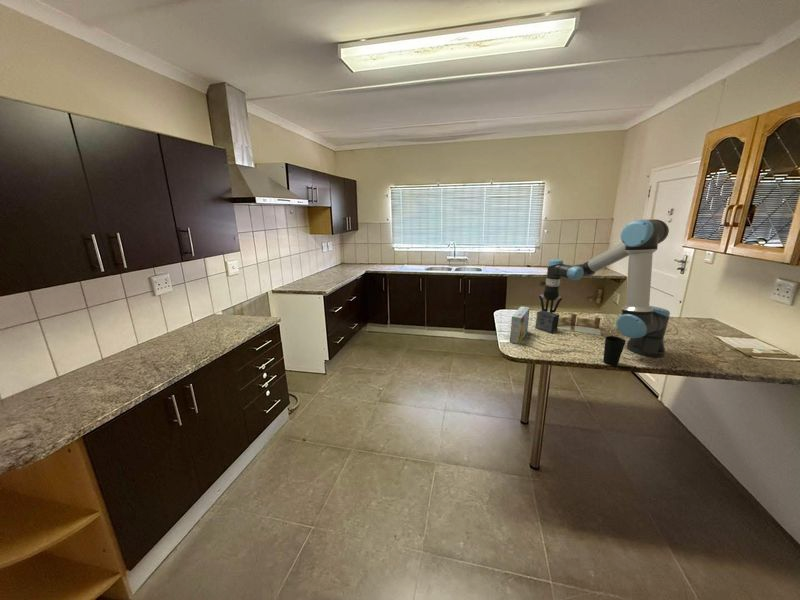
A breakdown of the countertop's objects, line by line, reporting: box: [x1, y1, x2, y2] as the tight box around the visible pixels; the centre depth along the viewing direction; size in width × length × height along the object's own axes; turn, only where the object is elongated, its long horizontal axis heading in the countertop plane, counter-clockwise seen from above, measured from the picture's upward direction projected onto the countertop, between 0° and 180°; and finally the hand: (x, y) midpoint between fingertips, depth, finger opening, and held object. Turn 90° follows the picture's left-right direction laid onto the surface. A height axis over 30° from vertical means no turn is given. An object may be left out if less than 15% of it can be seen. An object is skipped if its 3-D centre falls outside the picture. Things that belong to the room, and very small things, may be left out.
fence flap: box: [558, 316, 572, 326], centre depth 188 cm, size 12×3×6 cm, turn 102°
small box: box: [534, 310, 560, 334], centre depth 181 cm, size 11×6×10 cm, turn 34°
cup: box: [602, 335, 626, 367], centre depth 141 cm, size 8×8×12 cm
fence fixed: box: [570, 313, 602, 330], centre depth 187 cm, size 15×3×7 cm, turn 62°
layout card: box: [557, 322, 601, 336], centre depth 188 cm, size 28×16×1 cm, turn 62°
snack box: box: [509, 306, 531, 345], centre depth 170 cm, size 21×6×15 cm, turn 147°
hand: (546, 322), depth 190 cm, fingers closed
